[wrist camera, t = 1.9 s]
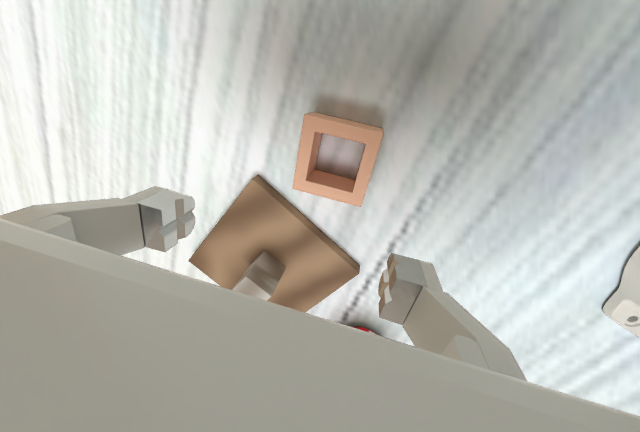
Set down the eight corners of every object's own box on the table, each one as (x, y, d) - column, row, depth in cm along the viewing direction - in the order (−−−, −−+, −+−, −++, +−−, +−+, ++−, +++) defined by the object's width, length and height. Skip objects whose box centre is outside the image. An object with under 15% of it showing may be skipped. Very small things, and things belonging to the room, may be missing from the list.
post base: (359, 265, 30) (356, 305, 25) (282, 323, 37) (265, 364, 32) (258, 175, 28) (228, 194, 22) (195, 254, 35) (159, 285, 29)
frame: (382, 128, 23) (383, 133, 20) (362, 192, 26) (361, 207, 23) (314, 111, 24) (304, 114, 20) (303, 176, 27) (292, 188, 23)
